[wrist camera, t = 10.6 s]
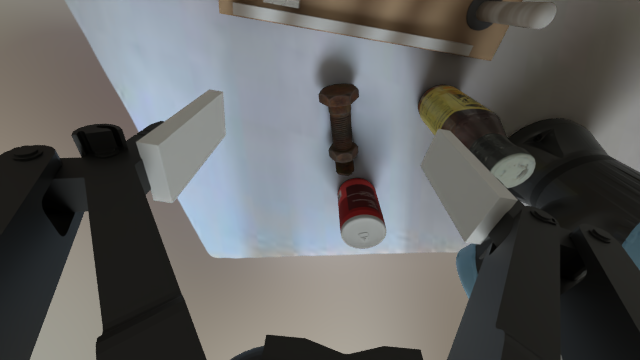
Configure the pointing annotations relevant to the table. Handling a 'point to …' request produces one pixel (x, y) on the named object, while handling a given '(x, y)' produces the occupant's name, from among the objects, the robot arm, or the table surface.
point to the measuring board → (408, 20)
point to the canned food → (360, 214)
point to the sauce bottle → (476, 133)
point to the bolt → (341, 124)
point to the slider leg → (285, 3)
